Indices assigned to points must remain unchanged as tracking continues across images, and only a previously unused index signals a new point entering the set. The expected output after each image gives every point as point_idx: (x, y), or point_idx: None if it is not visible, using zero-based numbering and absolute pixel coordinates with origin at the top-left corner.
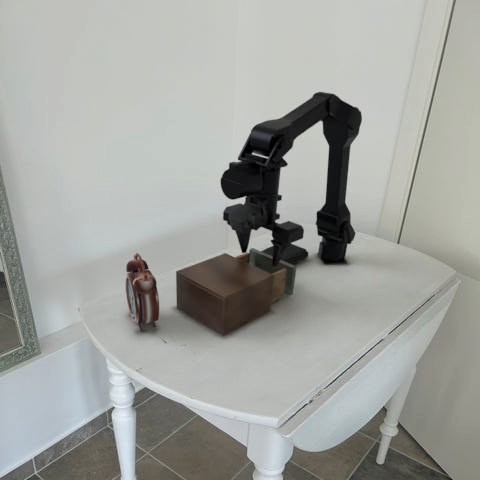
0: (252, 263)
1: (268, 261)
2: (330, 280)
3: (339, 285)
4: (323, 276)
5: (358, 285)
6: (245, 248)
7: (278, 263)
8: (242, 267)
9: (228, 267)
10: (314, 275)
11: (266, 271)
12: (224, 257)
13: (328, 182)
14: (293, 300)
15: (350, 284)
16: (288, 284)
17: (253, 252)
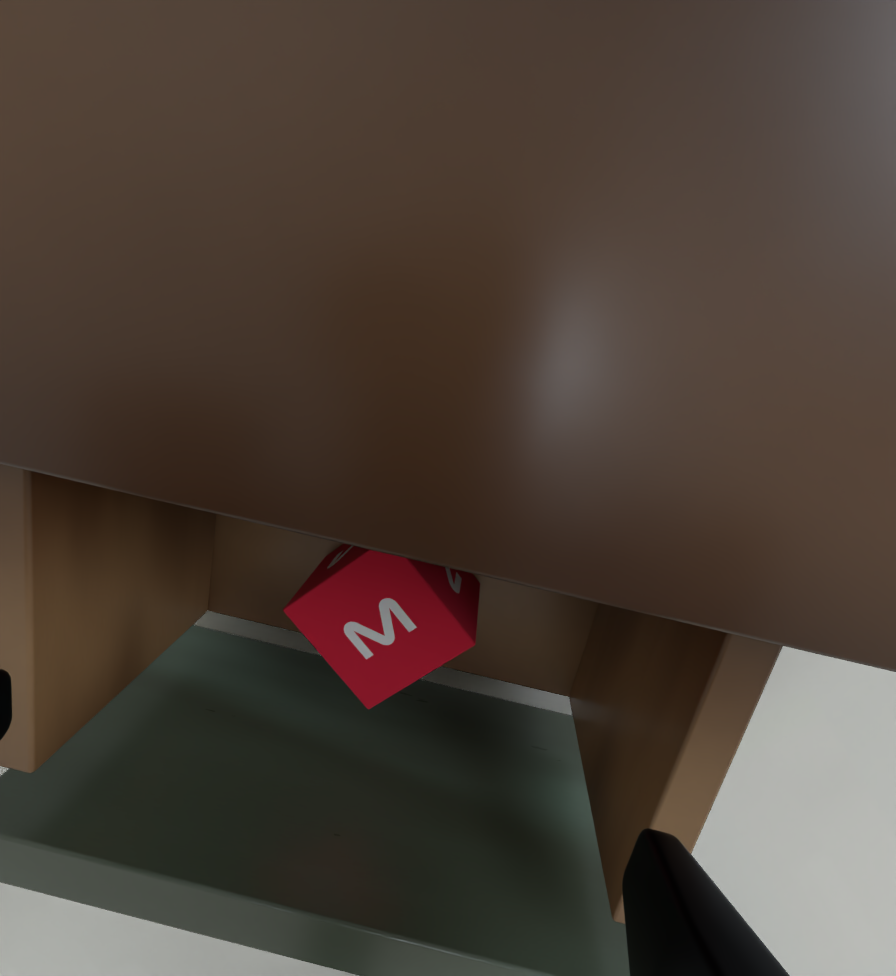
0: (576, 825)
1: (346, 866)
2: (154, 943)
3: (83, 915)
4: (211, 966)
5: (12, 958)
6: (648, 940)
7: (187, 857)
8: (347, 327)
9: (585, 127)
10: (258, 955)
11: (389, 764)
12: (891, 506)
13: None
14: None
15: (48, 950)
16: (143, 681)
17: (594, 963)
